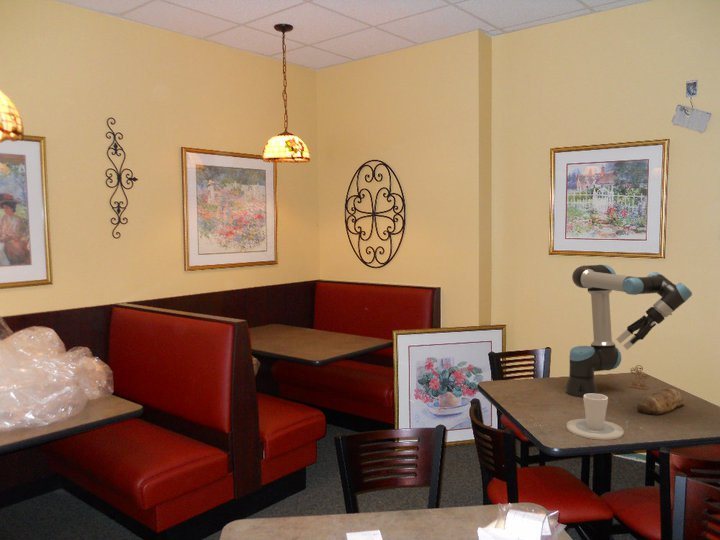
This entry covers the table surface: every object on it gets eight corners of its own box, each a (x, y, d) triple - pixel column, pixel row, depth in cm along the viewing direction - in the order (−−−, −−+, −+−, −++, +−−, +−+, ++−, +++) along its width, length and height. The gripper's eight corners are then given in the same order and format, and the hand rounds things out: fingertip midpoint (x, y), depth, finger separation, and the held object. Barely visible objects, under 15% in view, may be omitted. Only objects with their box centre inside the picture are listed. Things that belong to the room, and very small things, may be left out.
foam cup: (606, 424, 244) (607, 394, 243) (608, 432, 235) (608, 400, 234) (582, 422, 247) (583, 392, 246) (583, 429, 238) (583, 398, 237)
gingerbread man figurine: (648, 388, 300) (649, 365, 299) (646, 390, 297) (647, 367, 296) (630, 385, 306) (631, 363, 305) (628, 387, 303) (629, 364, 302)
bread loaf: (668, 424, 251) (671, 403, 250) (627, 413, 263) (629, 393, 262) (692, 408, 275) (694, 389, 274) (653, 398, 288) (655, 380, 287)
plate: (555, 426, 246) (555, 423, 246) (591, 418, 256) (591, 415, 256) (597, 443, 226) (597, 440, 226) (635, 433, 236) (635, 430, 236)
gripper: (673, 323, 242) (634, 356, 247) (657, 313, 267) (621, 344, 271) (660, 310, 243) (621, 344, 248) (645, 302, 267) (609, 333, 272)
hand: (621, 344), depth 259 cm, fingers open, 13 cm apart
